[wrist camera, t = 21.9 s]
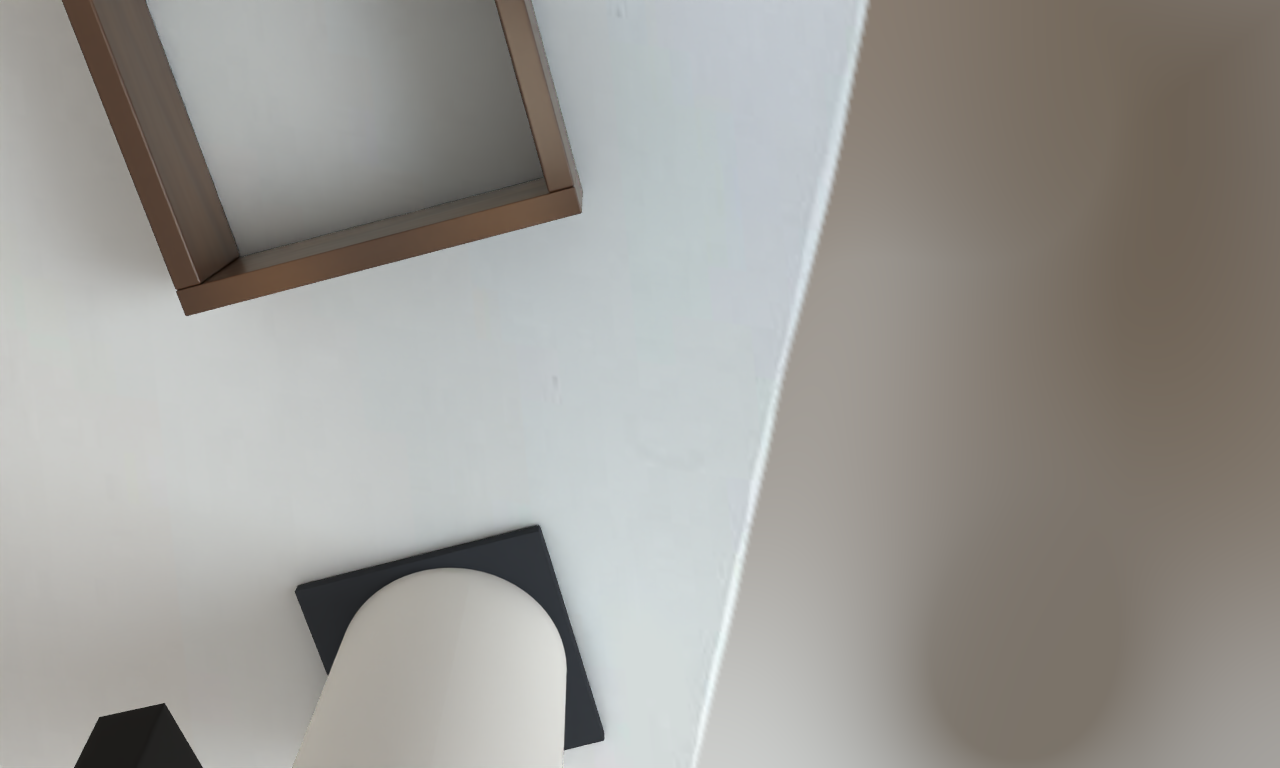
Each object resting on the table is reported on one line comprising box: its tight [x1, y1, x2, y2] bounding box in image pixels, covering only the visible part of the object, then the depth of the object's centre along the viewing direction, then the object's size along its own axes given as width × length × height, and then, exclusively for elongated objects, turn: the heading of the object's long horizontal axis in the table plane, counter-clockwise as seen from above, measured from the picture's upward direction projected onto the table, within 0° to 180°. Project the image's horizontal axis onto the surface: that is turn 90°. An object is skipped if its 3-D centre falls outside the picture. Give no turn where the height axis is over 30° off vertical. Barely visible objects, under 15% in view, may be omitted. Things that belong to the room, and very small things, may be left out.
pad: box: [295, 525, 604, 750], centre depth 42 cm, size 9×9×1 cm
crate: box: [62, 0, 583, 316], centre depth 33 cm, size 12×12×4 cm
